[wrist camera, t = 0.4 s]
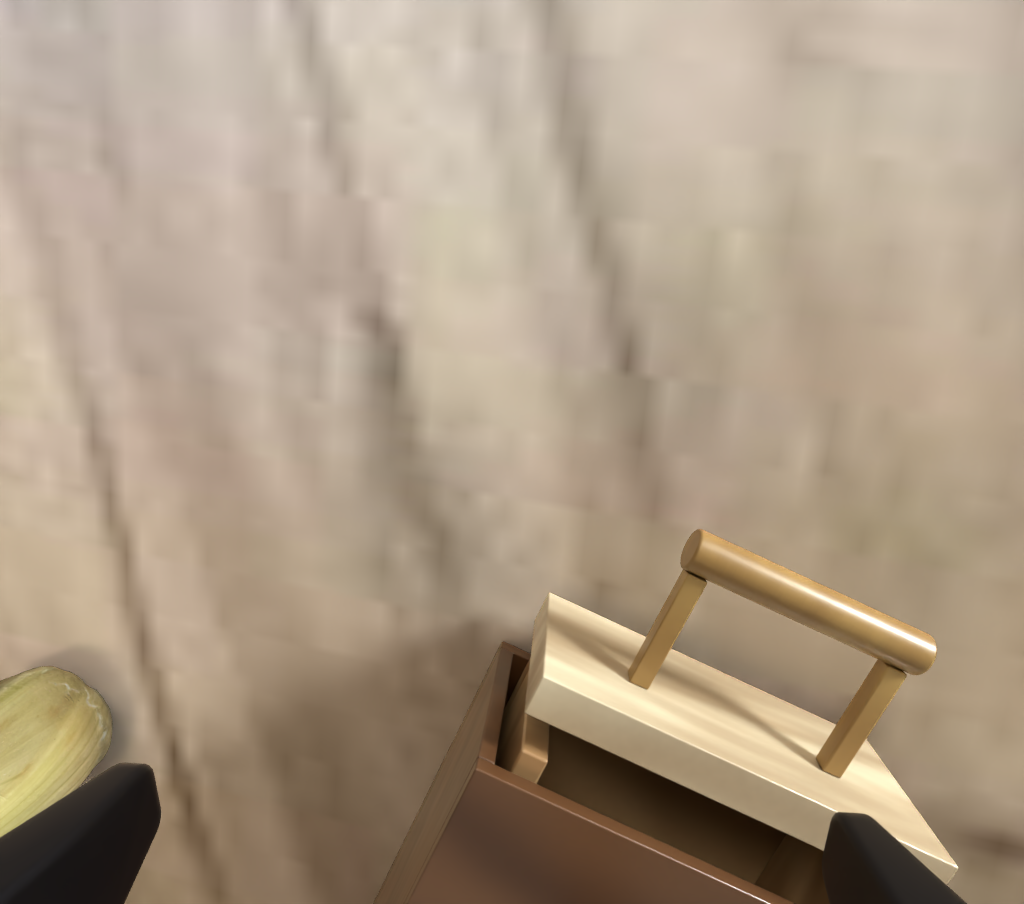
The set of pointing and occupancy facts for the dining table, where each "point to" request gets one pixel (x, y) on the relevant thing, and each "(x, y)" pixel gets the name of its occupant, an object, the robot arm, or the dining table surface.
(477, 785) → the cabinet
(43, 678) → the fennel bulb
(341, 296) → the dining table surface
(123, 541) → the dining table surface
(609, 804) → the drawer
